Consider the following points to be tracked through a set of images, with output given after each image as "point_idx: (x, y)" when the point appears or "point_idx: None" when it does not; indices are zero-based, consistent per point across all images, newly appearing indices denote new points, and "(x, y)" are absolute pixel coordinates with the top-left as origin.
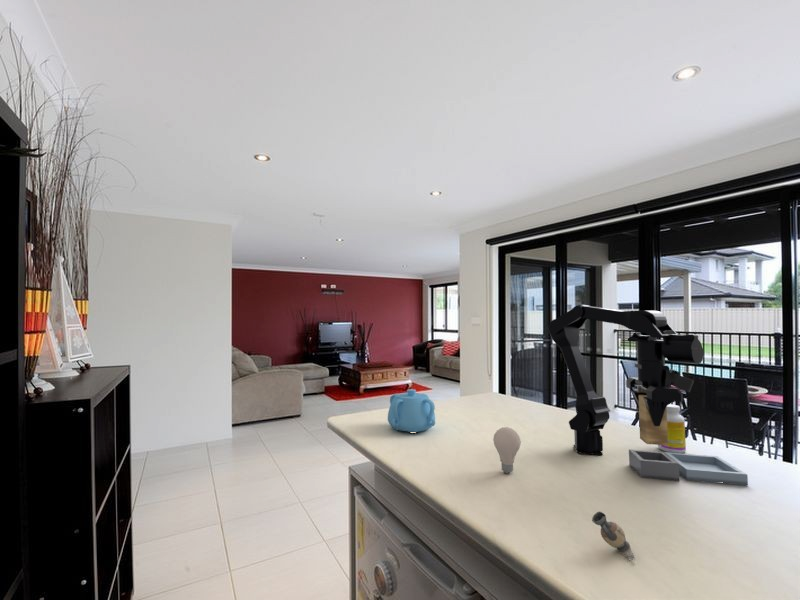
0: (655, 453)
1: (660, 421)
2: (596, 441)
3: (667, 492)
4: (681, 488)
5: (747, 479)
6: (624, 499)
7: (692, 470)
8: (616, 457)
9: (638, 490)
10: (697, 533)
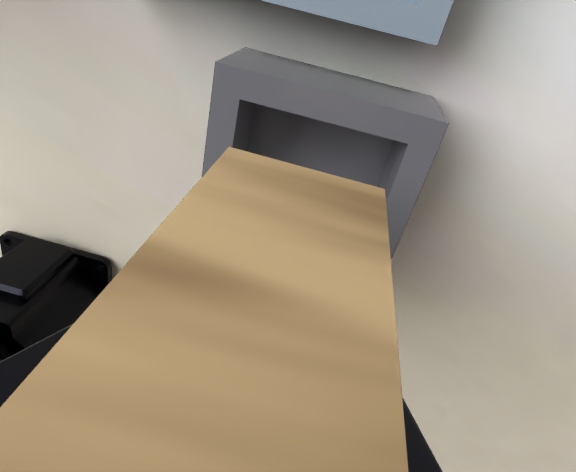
0: (234, 131)
1: (403, 408)
2: (57, 307)
3: (540, 249)
4: (518, 154)
5: None
6: (549, 415)
7: (449, 5)
8: (118, 208)
9: (493, 338)
10: None
